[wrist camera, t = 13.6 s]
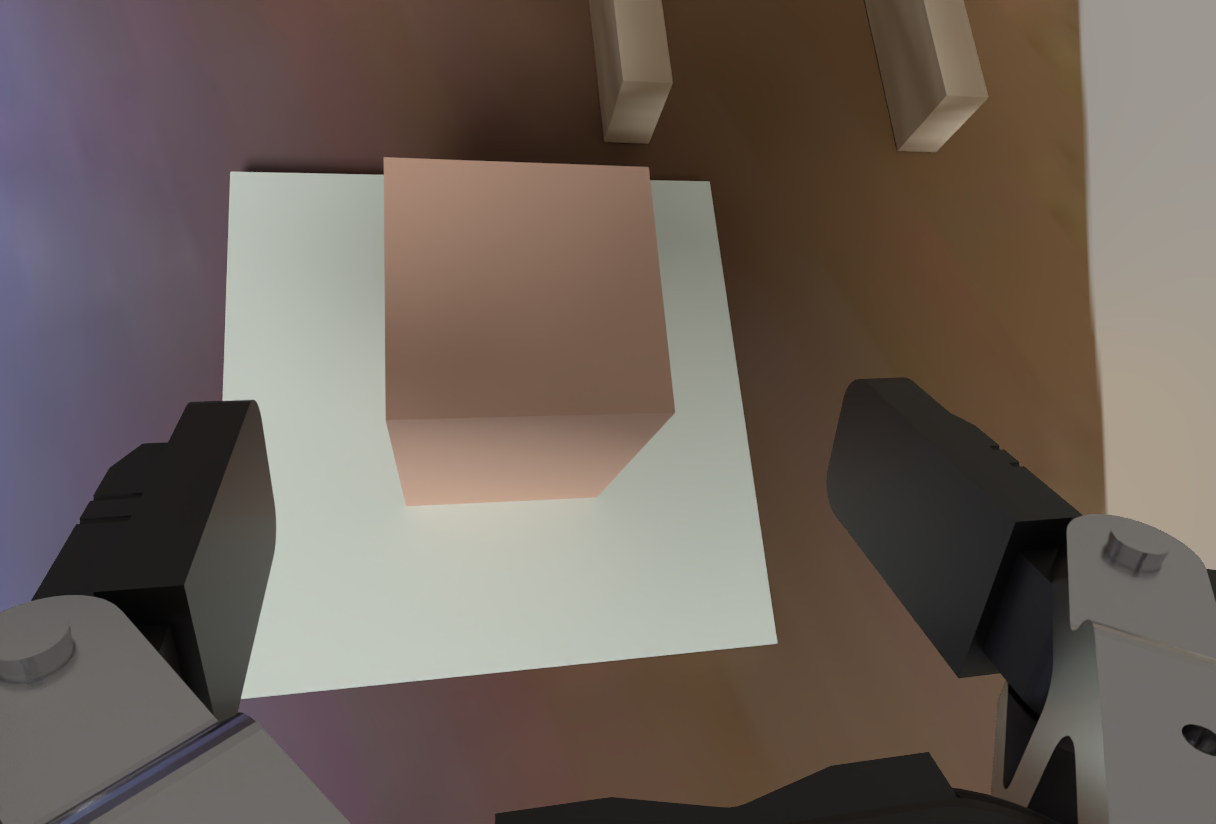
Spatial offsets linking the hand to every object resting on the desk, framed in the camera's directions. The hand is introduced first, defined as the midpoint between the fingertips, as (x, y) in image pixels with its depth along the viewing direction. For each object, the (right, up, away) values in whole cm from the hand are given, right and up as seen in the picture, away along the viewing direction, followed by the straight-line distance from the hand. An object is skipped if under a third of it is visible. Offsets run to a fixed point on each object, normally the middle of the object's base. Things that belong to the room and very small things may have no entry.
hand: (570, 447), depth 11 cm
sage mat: (-3, 0, +12) cm, 12 cm away
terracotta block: (-2, 0, +11) cm, 11 cm away
